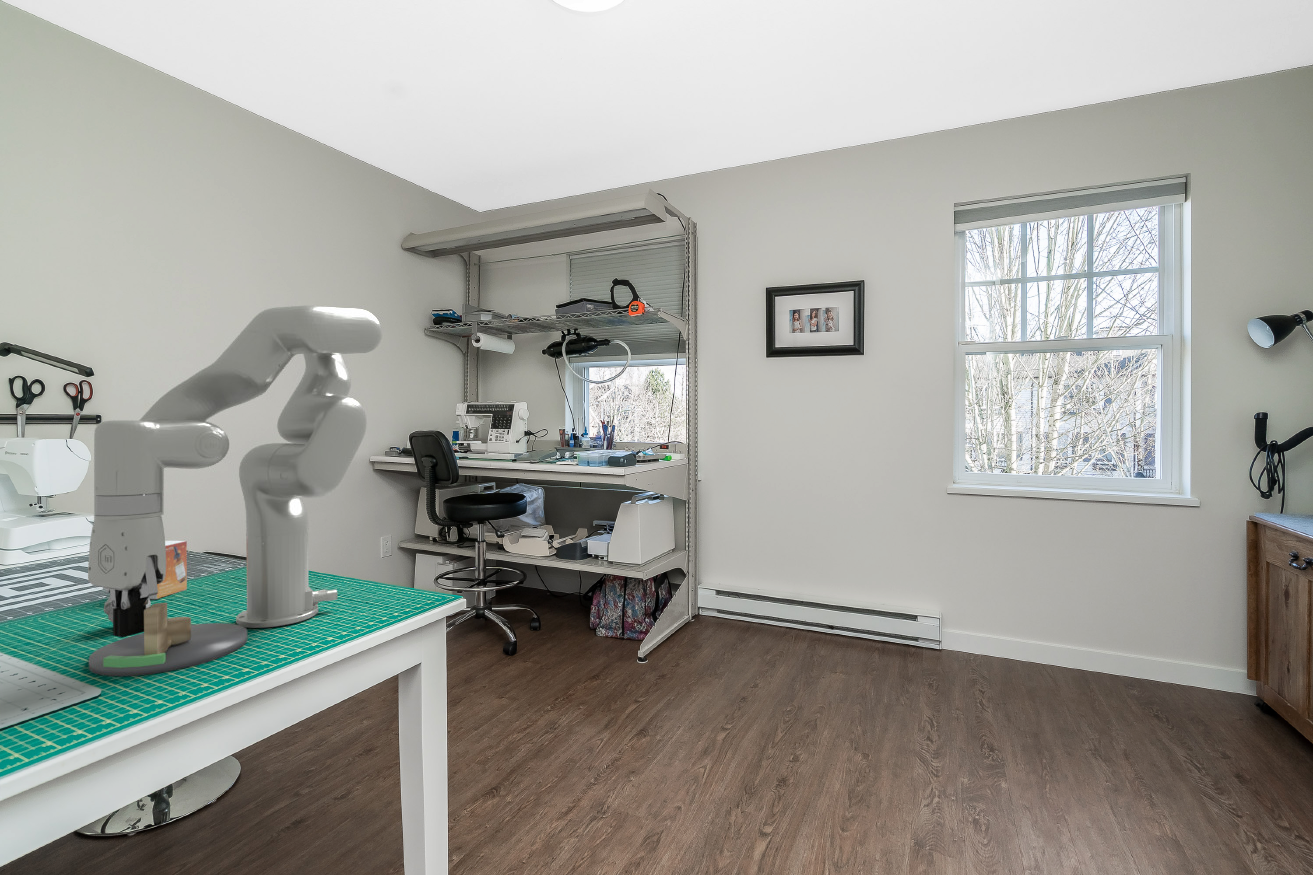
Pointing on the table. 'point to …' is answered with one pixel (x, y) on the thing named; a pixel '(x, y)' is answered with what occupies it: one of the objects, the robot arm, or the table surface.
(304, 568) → the robot arm
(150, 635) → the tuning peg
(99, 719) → the table surface
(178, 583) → the small box
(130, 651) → the dial face
